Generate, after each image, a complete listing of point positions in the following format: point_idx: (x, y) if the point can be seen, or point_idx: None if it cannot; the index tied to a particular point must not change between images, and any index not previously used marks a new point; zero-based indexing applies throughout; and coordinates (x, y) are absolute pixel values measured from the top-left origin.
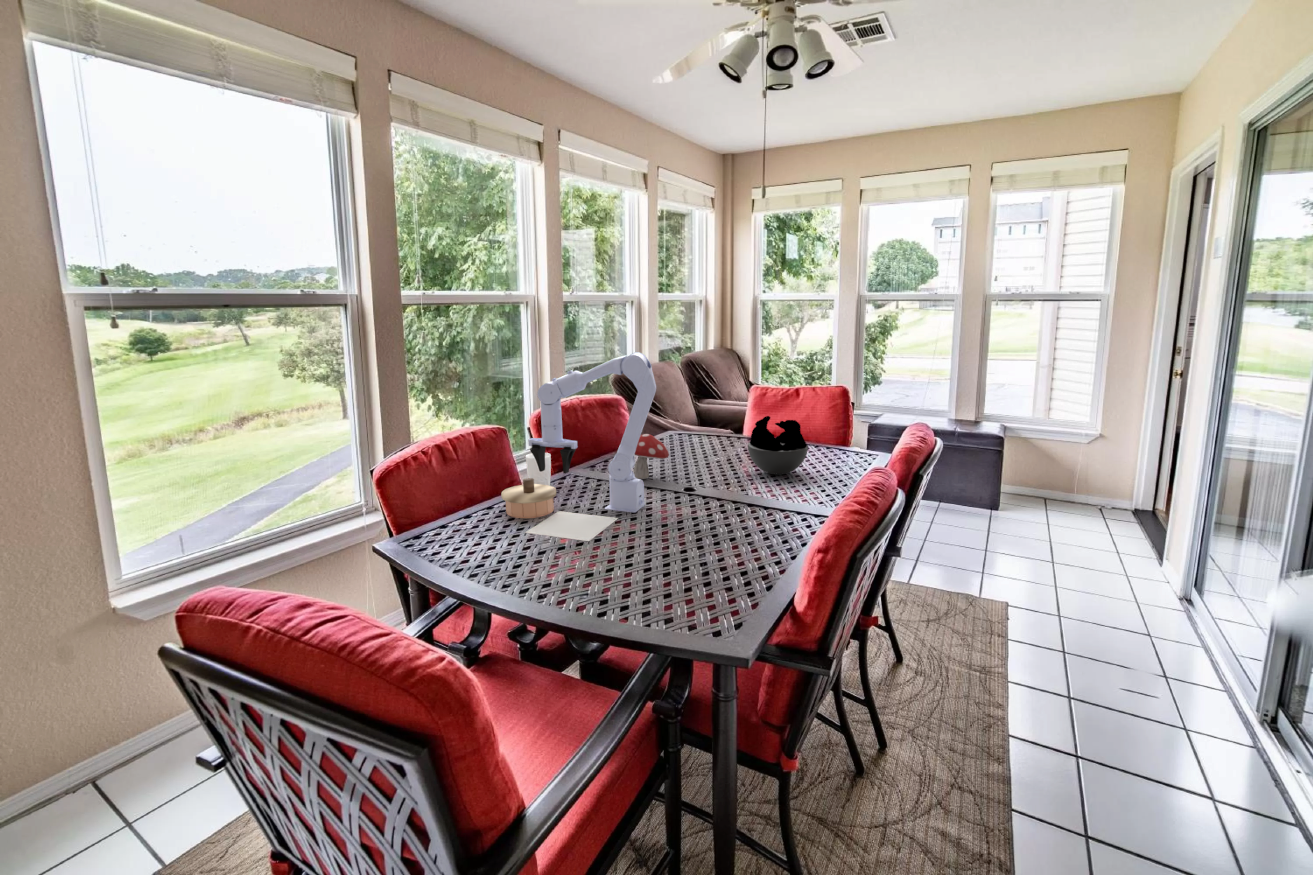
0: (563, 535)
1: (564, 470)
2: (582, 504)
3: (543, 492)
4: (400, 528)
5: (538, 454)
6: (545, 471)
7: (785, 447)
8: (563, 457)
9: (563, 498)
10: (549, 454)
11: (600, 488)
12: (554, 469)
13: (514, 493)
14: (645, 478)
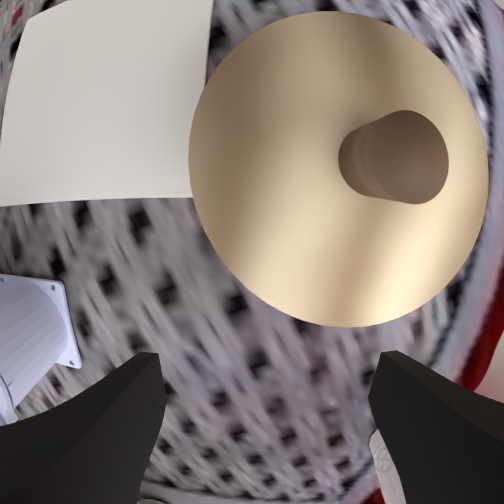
0: (88, 1)
1: (132, 362)
2: (165, 327)
3: (270, 168)
4: None
5: (485, 446)
6: (391, 466)
7: None
8: (46, 442)
9: (275, 371)
10: None
11: (206, 461)
12: (382, 499)
13: (425, 111)
14: (143, 499)
